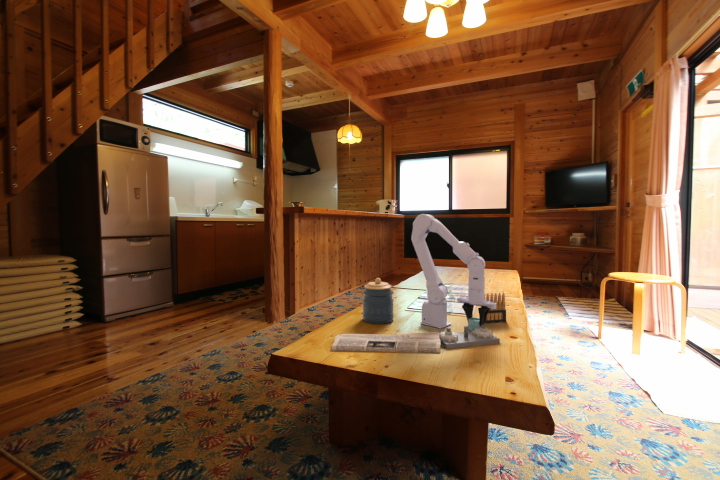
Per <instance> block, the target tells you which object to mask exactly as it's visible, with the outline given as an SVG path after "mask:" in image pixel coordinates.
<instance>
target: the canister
mask: <svg viewBox="0 0 720 480" xmlns="http://www.w3.org/2000/svg"><path fill="white" fill-rule="evenodd" d="M361 293H362V294H363V298H362V314H361V315H362V320H363V321H364V322H366V323H367V324H368V323H369V324H374V325H383V324H389V323H392V322H393V320H394V315H395V314H394V298H393V294H394V290H392V285H391V284H389V282H386V281H382V279H381V278H380V277H376V278H375V279H374V281H369V282H368V283H367V284H365V285H364V289H363V290H362V292H361Z"/></svg>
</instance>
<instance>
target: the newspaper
mask: <svg viewBox="0 0 720 480" xmlns="http://www.w3.org/2000/svg"><path fill="white" fill-rule="evenodd" d="M441 346H442V345H441V342H440V338H439V331H434V332H433V331H430V332H429V331H428V332H413V333H398V334H377V333H376V334H374V333H372V334H371V333H340V334H338V335H335V337H334V341H333V343H332V345H331V351H332V352H333V351H337V352H339V351H340V352H341V351H342V352H345V351H346V352H347V351H348V352H383V353H385V352H387V353H389V352H390V353H430V354H431V353H433V354H434V353H438V354H440V353H441Z"/></svg>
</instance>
